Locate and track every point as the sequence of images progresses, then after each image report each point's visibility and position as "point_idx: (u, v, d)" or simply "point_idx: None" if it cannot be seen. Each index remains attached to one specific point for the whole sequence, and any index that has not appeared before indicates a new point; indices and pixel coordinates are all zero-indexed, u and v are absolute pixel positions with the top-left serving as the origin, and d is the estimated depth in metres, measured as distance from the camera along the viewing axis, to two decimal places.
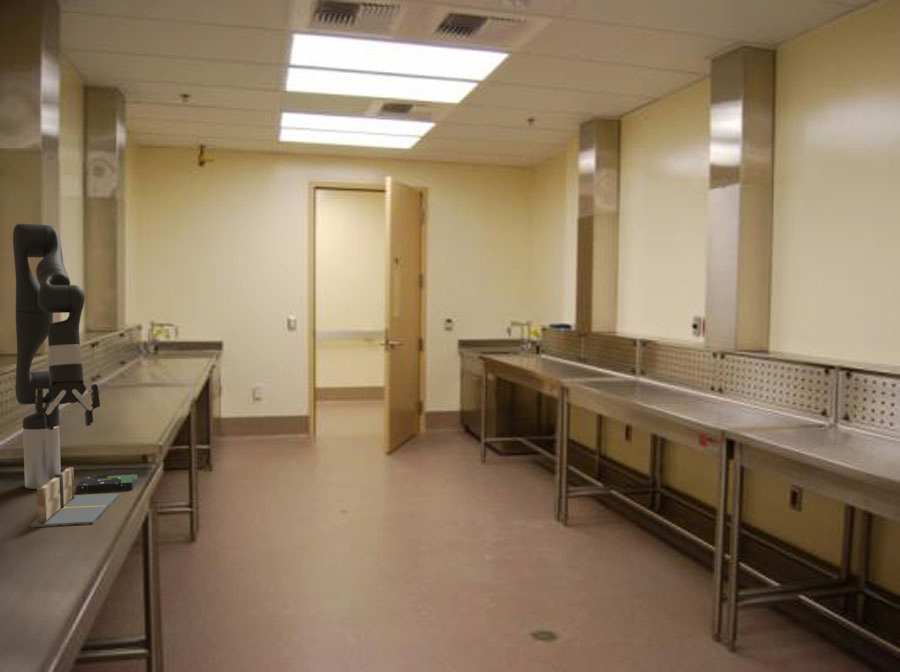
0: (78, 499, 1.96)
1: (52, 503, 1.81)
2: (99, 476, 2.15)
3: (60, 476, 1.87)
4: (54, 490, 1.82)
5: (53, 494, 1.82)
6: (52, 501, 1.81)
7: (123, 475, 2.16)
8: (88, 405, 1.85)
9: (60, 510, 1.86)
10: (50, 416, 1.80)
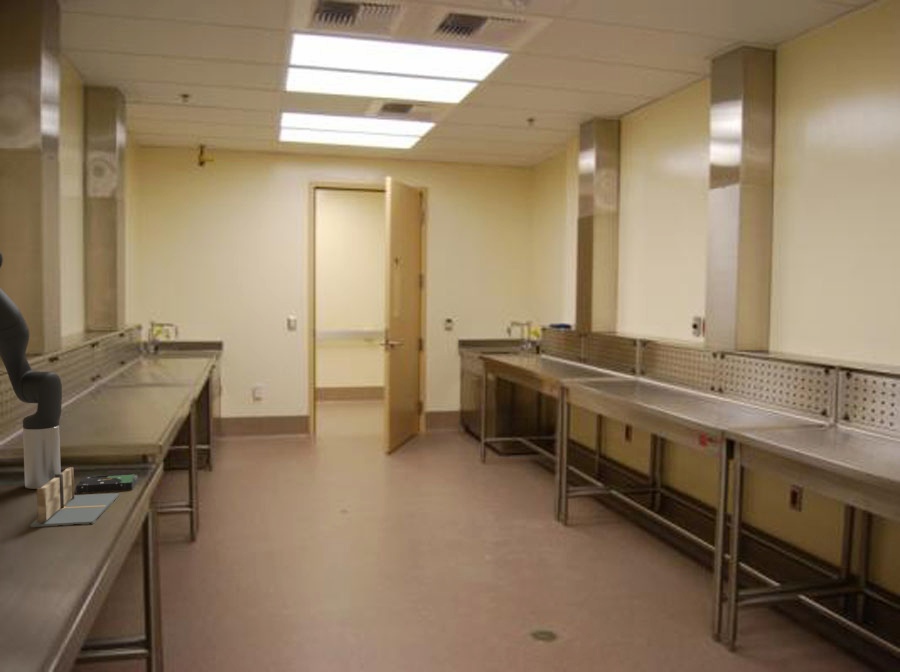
0: (78, 499, 1.96)
1: (52, 503, 1.81)
2: (99, 476, 2.15)
3: (60, 476, 1.87)
4: (54, 490, 1.82)
5: (53, 494, 1.82)
6: (52, 501, 1.81)
7: (123, 475, 2.16)
8: None
9: (60, 510, 1.86)
10: None
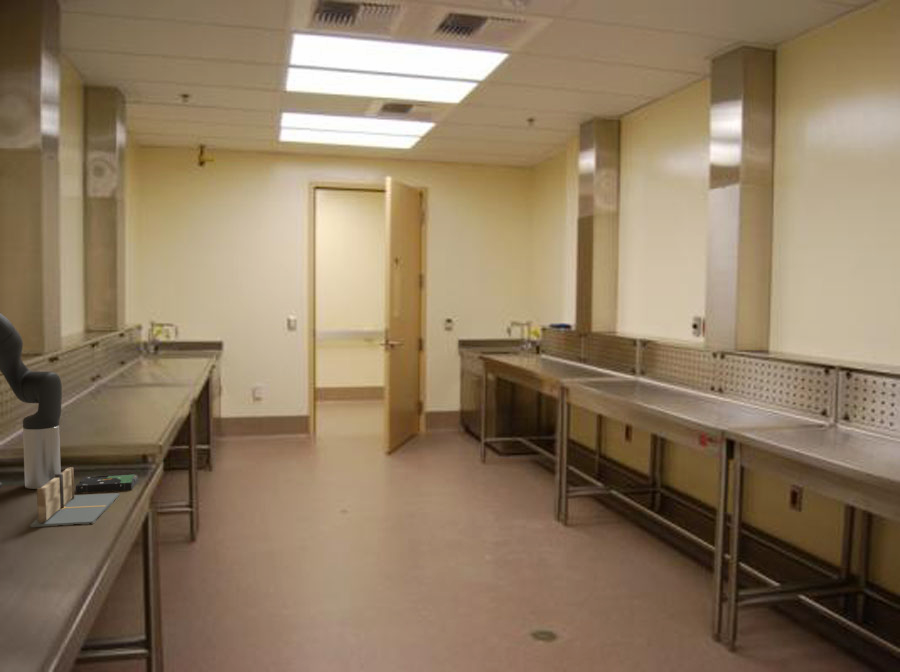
0: (78, 499, 1.96)
1: (52, 503, 1.81)
2: (99, 476, 2.15)
3: (60, 476, 1.87)
4: (54, 490, 1.82)
5: (53, 494, 1.82)
6: (52, 501, 1.81)
7: (123, 475, 2.15)
8: None
9: (60, 510, 1.86)
10: None
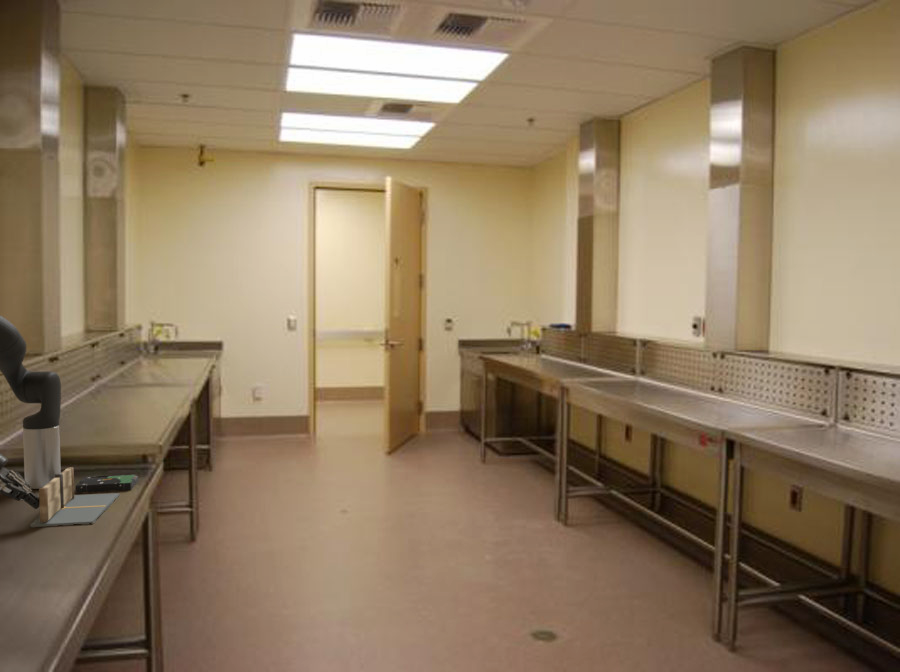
0: (78, 499, 1.96)
1: (53, 503, 1.81)
2: (99, 476, 2.15)
3: (60, 476, 1.87)
4: (55, 490, 1.83)
5: (54, 494, 1.82)
6: (54, 501, 1.81)
7: (123, 475, 2.15)
8: None
9: (60, 510, 1.86)
10: None
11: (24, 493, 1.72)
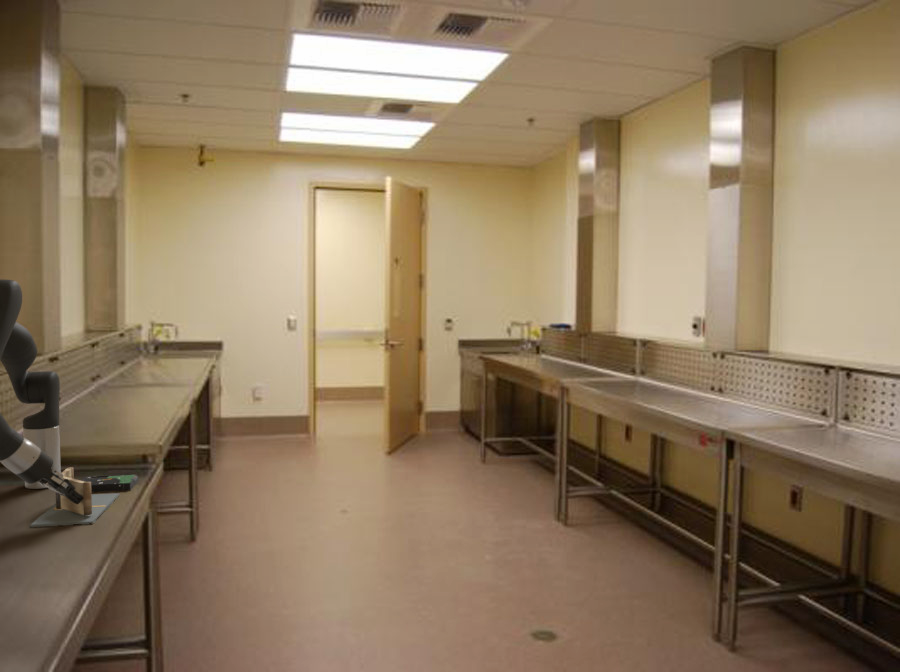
0: None
1: None
2: (100, 476, 2.15)
3: None
4: None
5: None
6: None
7: (123, 475, 2.15)
8: (61, 493, 1.77)
9: (60, 510, 1.86)
10: (65, 496, 1.79)
11: (73, 488, 1.77)
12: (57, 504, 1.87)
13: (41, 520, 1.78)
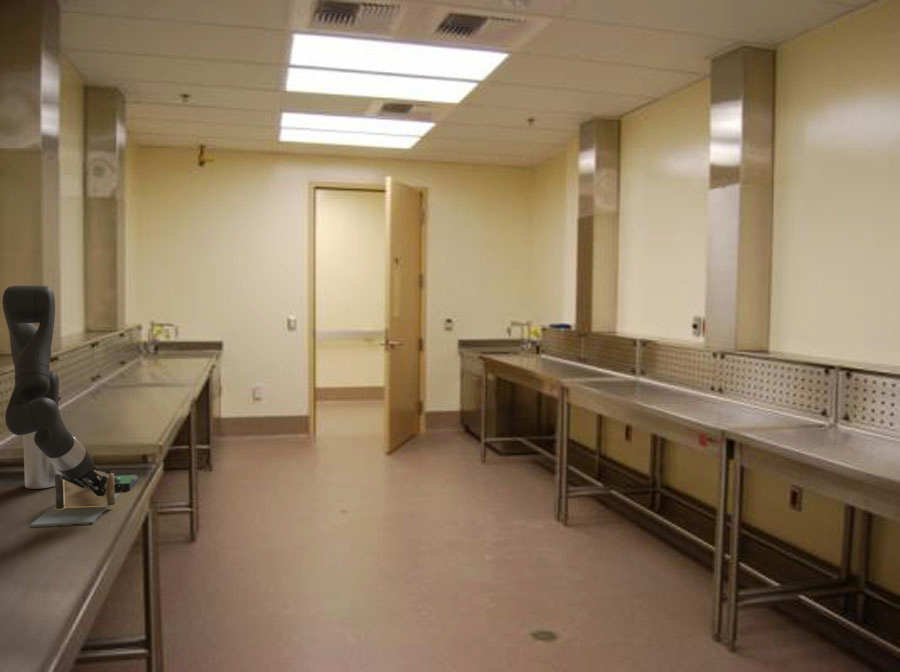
0: None
1: None
2: None
3: (60, 476, 1.87)
4: None
5: None
6: None
7: (123, 475, 2.15)
8: (92, 487, 1.83)
9: (60, 510, 1.86)
10: (92, 490, 1.85)
11: None
12: (57, 504, 1.87)
13: (41, 520, 1.78)
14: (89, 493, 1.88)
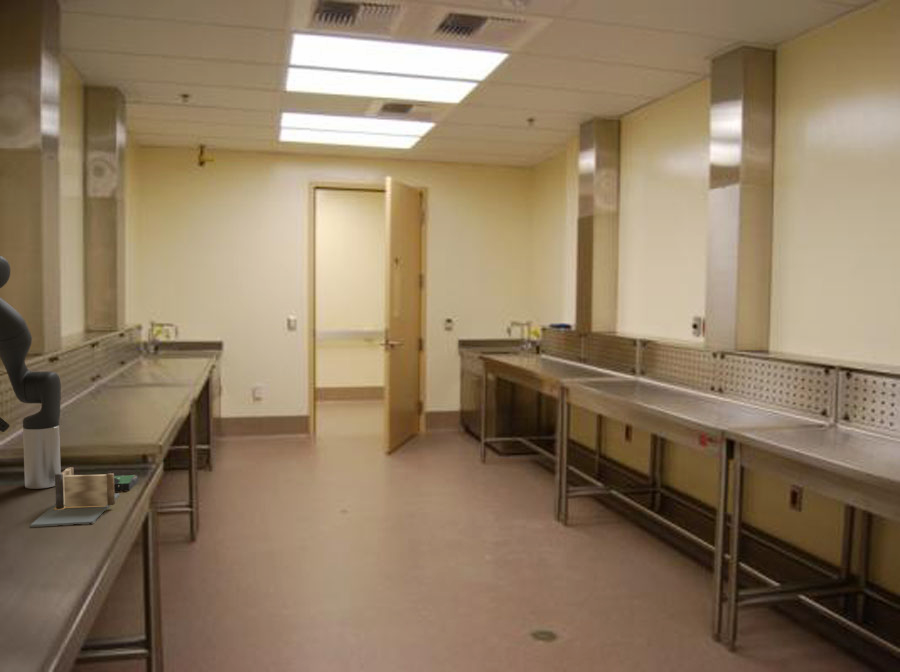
0: None
1: None
2: None
3: (60, 476, 1.87)
4: None
5: None
6: None
7: (123, 475, 2.15)
8: None
9: (60, 510, 1.86)
10: None
11: None
12: (57, 504, 1.87)
13: (41, 520, 1.78)
14: (89, 493, 1.88)
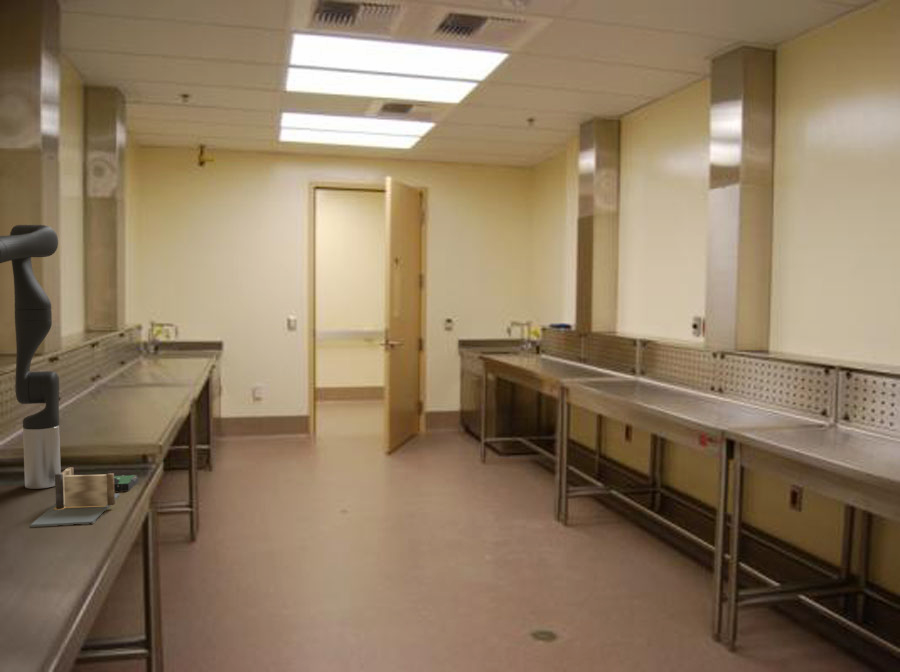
0: None
1: None
2: None
3: (60, 476, 1.87)
4: None
5: None
6: None
7: (123, 476, 2.15)
8: None
9: (60, 510, 1.86)
10: None
11: None
12: (57, 504, 1.87)
13: (41, 520, 1.78)
14: (89, 493, 1.88)
